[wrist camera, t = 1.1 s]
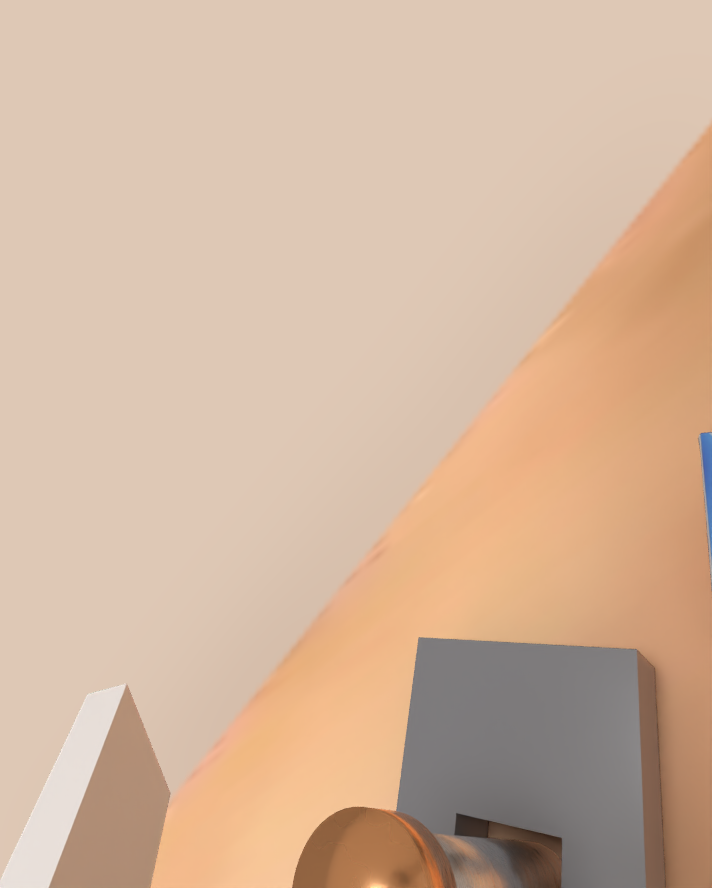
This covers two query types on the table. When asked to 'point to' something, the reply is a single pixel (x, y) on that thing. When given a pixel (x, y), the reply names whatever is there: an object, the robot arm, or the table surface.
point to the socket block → (540, 752)
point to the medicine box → (707, 485)
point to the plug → (416, 856)
